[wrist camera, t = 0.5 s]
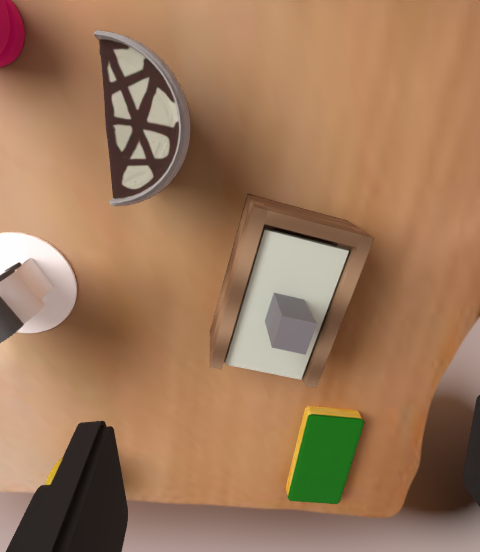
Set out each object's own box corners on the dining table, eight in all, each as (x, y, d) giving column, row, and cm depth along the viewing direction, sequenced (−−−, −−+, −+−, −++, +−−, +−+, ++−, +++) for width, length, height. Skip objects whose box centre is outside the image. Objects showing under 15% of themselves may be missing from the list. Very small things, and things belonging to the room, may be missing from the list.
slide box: (247, 194, 40) (254, 206, 33) (347, 220, 42) (374, 238, 35) (210, 330, 45) (209, 367, 38) (300, 349, 47) (316, 388, 40)
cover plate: (263, 227, 35) (272, 244, 30) (346, 248, 36) (369, 268, 31) (224, 360, 40) (226, 396, 34) (299, 375, 41) (312, 412, 35)
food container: (196, 193, 40) (190, 211, 30) (134, 192, 39) (109, 210, 30) (194, 55, 36) (186, 27, 26) (124, 52, 35) (92, 23, 26)
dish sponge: (358, 408, 51) (365, 421, 48) (334, 489, 55) (339, 505, 53) (305, 403, 50) (309, 416, 48) (284, 486, 54) (287, 501, 52)
